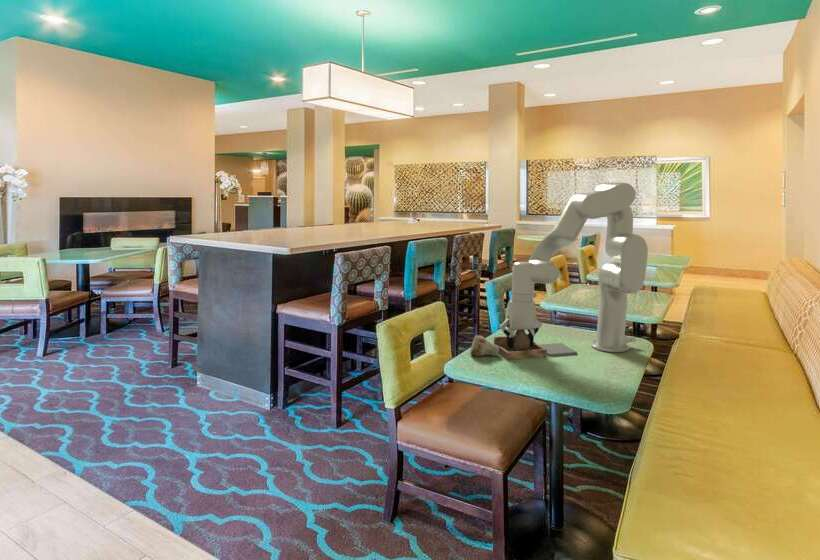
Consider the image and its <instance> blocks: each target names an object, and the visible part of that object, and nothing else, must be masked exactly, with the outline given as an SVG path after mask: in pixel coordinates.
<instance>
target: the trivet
mask: <svg viewBox="0 0 820 560" xmlns="http://www.w3.org/2000/svg"><path fill="white" fill-rule="evenodd" d="M539 345H540V346H542V347H543V348H545V349H547V356H548V357H557V356H568V355H569V356H570V355H578V351H576V350H575V349H573V348H571V347H569V346H567V345H565V344H564V343H562V342H556V343H555V342H554V343H544V344H543V343H540V344H539Z"/></svg>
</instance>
